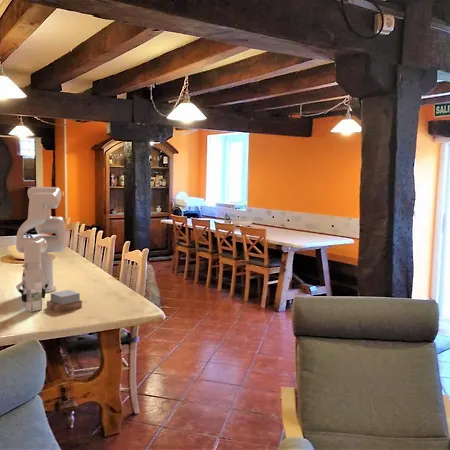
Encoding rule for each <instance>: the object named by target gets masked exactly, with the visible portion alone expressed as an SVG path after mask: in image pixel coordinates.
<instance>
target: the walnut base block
mask: <svg viewBox="0 0 450 450" xmlns="http://www.w3.org/2000/svg"><path fill="white" fill-rule="evenodd" d="M81 308H83V300H81V299H80V301H78V302H73V303H69V304H64V305H60V304H57V303H55V302H52V301H51V299H50V300H46V309H49V310H51V311H54V312H57V313H60V314H62V313H66V312H69V311H74V310H77V309H81Z"/></svg>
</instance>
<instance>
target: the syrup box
mask: <svg viewBox="0 0 450 450" xmlns="http://www.w3.org/2000/svg"><path fill="white" fill-rule="evenodd" d="M26 294H27V302H24V303H25V311H27V312H29V313H34V312H38V311H43V298H42V282H40V283H36V284H35V289H31V290H28V291H27V292H26Z"/></svg>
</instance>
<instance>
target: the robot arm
mask: <svg viewBox="0 0 450 450" xmlns="http://www.w3.org/2000/svg"><path fill="white" fill-rule="evenodd" d="M27 196H28V199H29V202H28V211H27V212H28V215H27V219H26V220H25V221H24V222H23V223H22V224H21V225H20V227H18V230H17V233H16V242H15V249H16V251H17V252H18V253H20V254H24V255H23V257H24V260H23V261H24V262H23V264H22V265H21V267H22V269H23V271H22V275H21V276H22V277H21V282H20V283H18V284H17V285H16V286H15V289H16V290H17V292H18V293H20V294H21V302H23V303H25V302H27V294H26V292H27V291H28V290H31V289H35V284H36V283H40V282H42V299H45V298H46V293H53V292H54V291H56V290H57V287H56V286H54V262H53V261H54V260H53V257H52V256H51V255H50V254H49V253H62V252H65V250H66V242H67V241H66V223H65V219H64V218H63V216H52V215H51V214H52V212H51V209H58V207H59V205H60V203H61V200H62V190H61V189H60V188H59V187H57V186H56V187H55V186H33V187H32V186H31V187H30V188H28V189H27ZM31 229H35V232H36V233H38V234H55V235H38V236H35V237H24V236H25V234H26V233H27V232H28V231H29V230H31Z"/></svg>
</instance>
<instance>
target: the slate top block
mask: <svg viewBox="0 0 450 450" xmlns="http://www.w3.org/2000/svg"><path fill="white" fill-rule="evenodd" d="M50 300H51V301H52V302H55V303H57V304H60V305H64V304H69V303H73V302H78V301H80V300H81V299H80V293H79V292H77V291H75V290H74V291H73V290H71V289H67V290H65V289H64V290H60V291H56V292H50Z"/></svg>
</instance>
